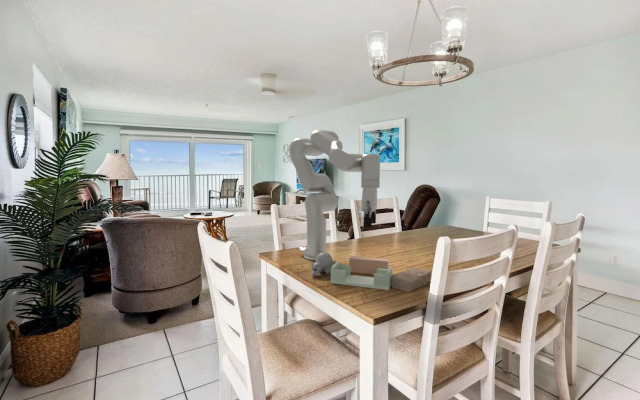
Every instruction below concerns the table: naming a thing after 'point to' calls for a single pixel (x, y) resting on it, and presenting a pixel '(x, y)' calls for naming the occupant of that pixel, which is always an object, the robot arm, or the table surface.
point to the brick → (410, 279)
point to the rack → (361, 277)
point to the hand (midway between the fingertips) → (369, 225)
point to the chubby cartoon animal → (322, 264)
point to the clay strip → (367, 264)
